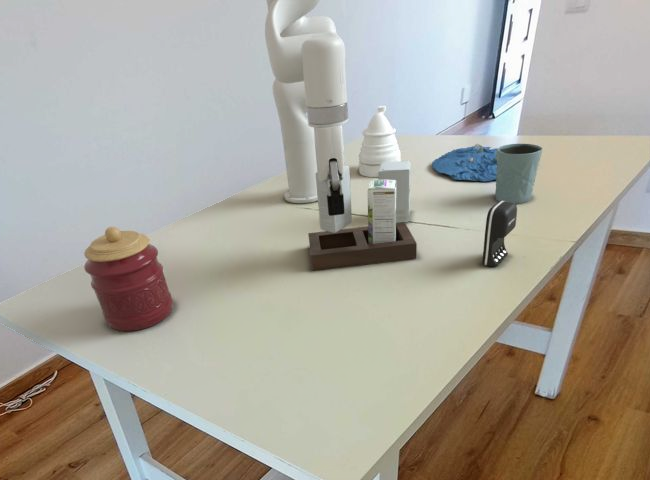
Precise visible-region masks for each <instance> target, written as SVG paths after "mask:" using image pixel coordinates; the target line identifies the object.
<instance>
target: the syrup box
mask: <svg viewBox="0 0 650 480" xmlns="http://www.w3.org/2000/svg"><path fill="white" fill-rule="evenodd" d="M367 226H368V244H376V243H385V242H393V241H396V181H395V180H378V179H374V180H370V181H368V187H367Z"/></svg>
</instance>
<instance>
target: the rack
mask: <svg viewBox="0 0 650 480" xmlns="http://www.w3.org/2000/svg"><path fill="white" fill-rule="evenodd" d="M307 234H308V244H309V251H310V261H311V267H312V268H311V269H312V271H313V272H314V271H322V270H330V269H339V268H348V267H355V266H356V267H357V266H364V265H373V264H382V263H390V262H392V263H393V262H400V261H408V260H416V259H417V248H418V247H417V244H418V243H417V241H416V239H415V237H414V235H413V234H412V232H411V230H410V229H409V227H408V225H407V224H406V222H399V223H396V241H393V242H385V243H376V244H368V225H367V226H357V227H348V228H342V229H341V230H339V231H337V232H336V233H333V232H328V231H324V230H322V231H316V232H315V231H314V232H308V233H307Z"/></svg>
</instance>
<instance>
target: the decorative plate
mask: <svg viewBox="0 0 650 480" xmlns="http://www.w3.org/2000/svg"><path fill="white" fill-rule="evenodd" d="M497 149H498V148H497V147H495V148H492V146H483V145H480V144H479V143H476V144H474V146H468V147H461V148H456V149H452V150H451V151H448V152H446V153H445V154H442V155H441V156H439V157H438V158H435V159H434V160H433V161H432V163H431V167H432V168H433V169H434V170H436V172H437V173H439V174H445V175H447V176H449V177H450V178H451V179H453V180H459V181H462V180H465V181H473V182H474V181H476V182H488V181H493V180H496V176H497V175H496V172H497Z"/></svg>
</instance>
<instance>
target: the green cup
mask: <svg viewBox="0 0 650 480" xmlns="http://www.w3.org/2000/svg"><path fill="white" fill-rule="evenodd" d="M542 153H543V147H542V146H540V145H537V144H533V143H532V144H531V143H509V144H505V145H501V146H499V147H498V148H497V172H496V175H497V176H496V179H495V191H494V193H495V194H494V198H495V200H496V201H497V202H499V201H505V202H512V203H514V204H516V205H517V204H518V205H519V204H524V203H527V202H529V201H530V200H531V199H532V196H533V191H534V186H535V182H536V178H537V175H538V169H539V165H540V160H541V157H542Z"/></svg>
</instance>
